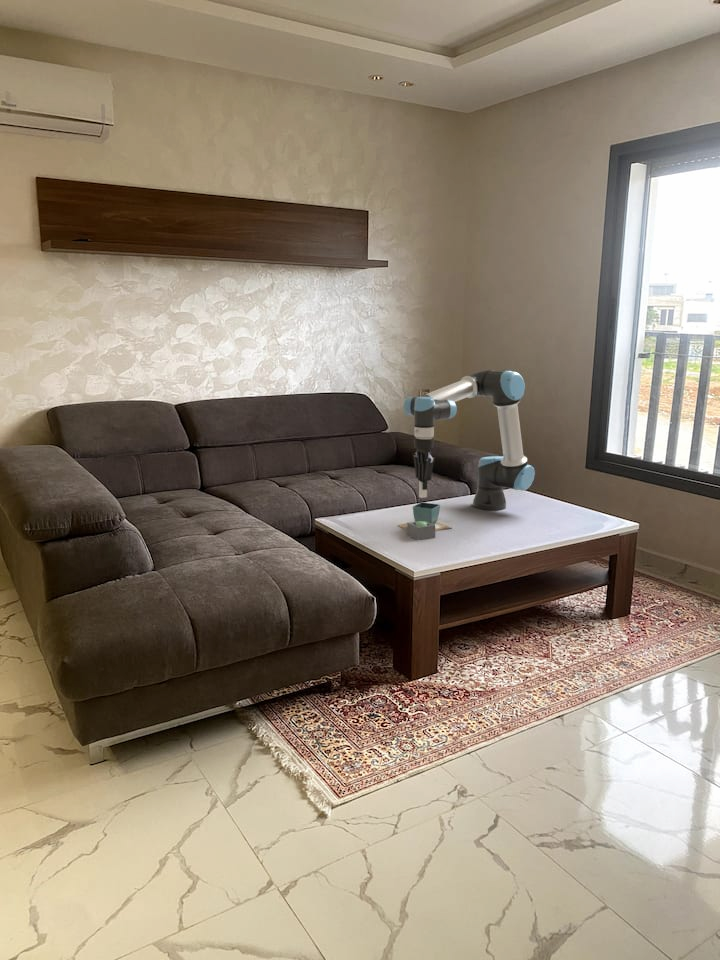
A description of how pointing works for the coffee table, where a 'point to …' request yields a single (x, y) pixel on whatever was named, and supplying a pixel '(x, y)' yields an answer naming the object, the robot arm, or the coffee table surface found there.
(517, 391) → the robot arm
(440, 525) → the board
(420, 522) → the button
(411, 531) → the button box
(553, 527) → the coffee table surface
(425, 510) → the flower pot
